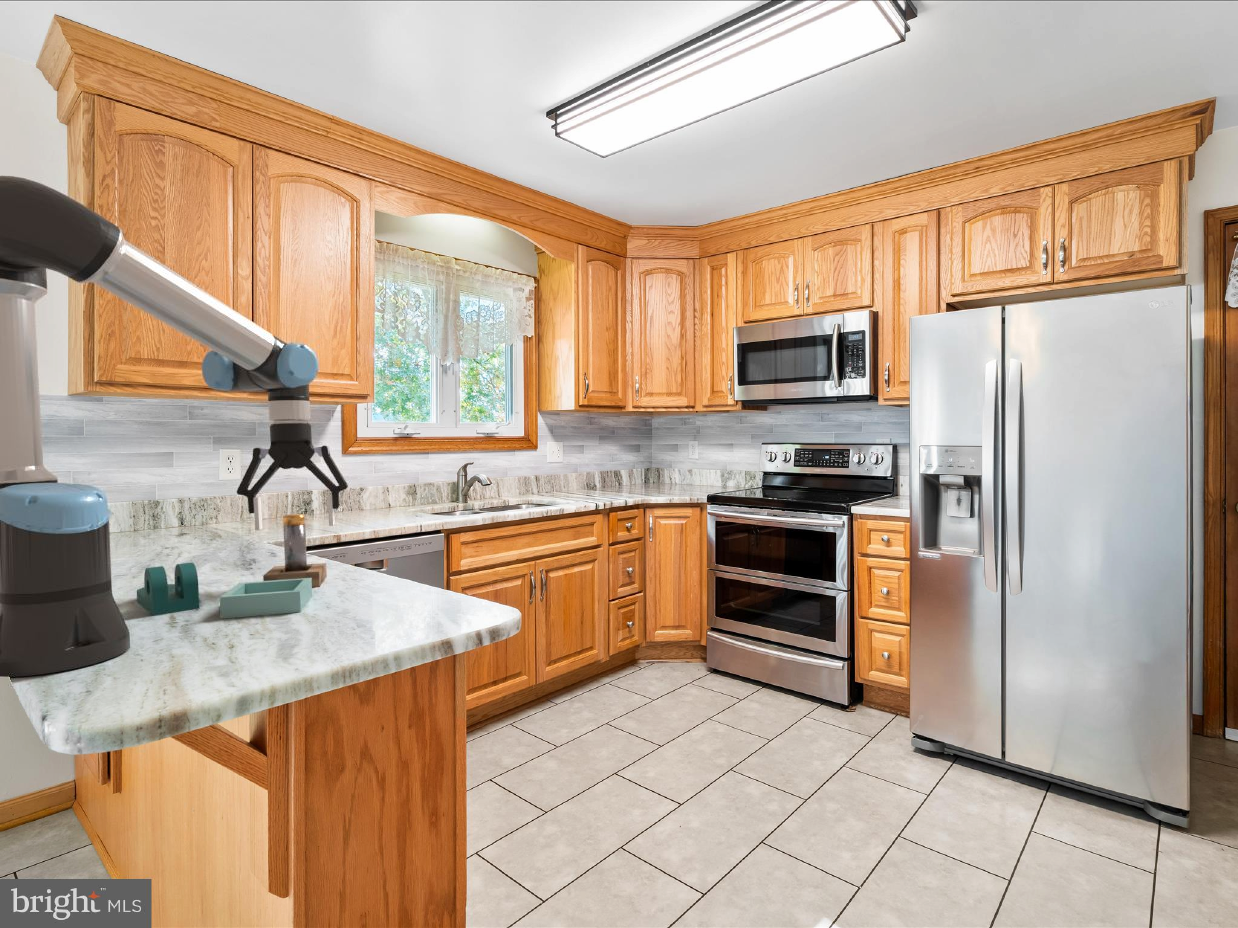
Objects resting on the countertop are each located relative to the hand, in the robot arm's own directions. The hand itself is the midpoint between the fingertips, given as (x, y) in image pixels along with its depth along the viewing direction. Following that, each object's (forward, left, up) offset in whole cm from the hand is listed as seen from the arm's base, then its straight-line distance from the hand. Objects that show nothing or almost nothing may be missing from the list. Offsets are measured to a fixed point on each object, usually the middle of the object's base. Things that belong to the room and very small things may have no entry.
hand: (295, 527), depth 137 cm
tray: (-20, +1, -11) cm, 23 cm away
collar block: (0, 0, -11) cm, 11 cm away
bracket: (-10, +20, -12) cm, 26 cm away
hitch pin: (0, 0, -11) cm, 11 cm away
